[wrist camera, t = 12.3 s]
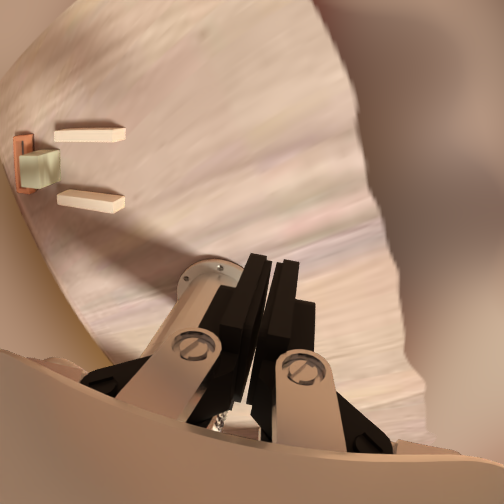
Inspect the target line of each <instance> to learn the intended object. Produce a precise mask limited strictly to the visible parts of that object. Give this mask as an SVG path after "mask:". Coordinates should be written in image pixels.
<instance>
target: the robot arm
mask: <svg viewBox="0 0 504 504" xmlns="http://www.w3.org/2000/svg"><path fill="white" fill-rule="evenodd" d="M222 266H223V267H222ZM271 266H272V261H268V260H267V256H264V255H259V254H253V253H251V254H250V256H249V258H248V261H247V263H246V265H245V268H244V269H243V268H241V267H240V266H238V265H236V264H234V263H231V262H229V261H225V260H221V259H207V260H202V261H199V262H196V263H195V264H193V265H191V266H190V267H189V268H188V269H187V270H186V271H185V272H184V273H183V274H182V276H181V278H180V280H179V282H178V286H177V298H178V301H177V303H176V304H175V306H174V307H173V309H172V310H171V312H170V313H169V315H168V316H167V317H166V319H165V320H164V322H163V323H162V325H161V326H160V328H159V329H158V331H157V332H156V334H155V335H154V337H153V338H152V340H151V341H150V343H149V345H148V346H147V348H146V349H145V351H144V352H143V354H142V355H141V357H140V358H139V359H135V360H132V361H128V362H124V363H121V364H117V365H113V366H109V367H105V368H101V369H97V370H95V371H92V372H90V373H88V372H86V371H85V370H83V369H82V368H80V367H79V366H77V365H76V364H74V363H72V362H71V361H68V360H66V359H63V358H60V357H50V358H47V359H44V360H40V359H35V358H28V357H27V358H25V357H23V356H20V355H17V354H15V353H13V352H10V351H7V350H4V349H0V504H504V465H503V464H500V463H497V462H494V461H491V460H488V459H484V458H479V457H472V456H465V455H461V454H460V453H459V452H456V451H454V450H450V449H443V448H438V447H433V446H428V445H422V444H418V443H413V442H408V441H404V440H399V439H398V440H397V442H392V441H390V439H389V438H388V437H387V436H386V435H385V433H384V432H382V431H381V430H380V429H379V428H378V427H377V426H375V425H374V424H373V423H372V422H371V421H370V420H368V419H367V418H366V417H365V416H364V415H363V414H362V413H360V412H359V411H358V410H357V409H356V408H355V407H354V406H352V405H351V404H350V403H349V402H348V401H347V400H346V399H345V398H343V397H342V396H341V395H340V394H339V393H338V392H337V391H336V389H335V384H334V379H333V374H332V370H331V367H330V365H329V363H328V362H327V361H326V360H325V358H323V357H322V356H320V355H319V354H317V353H315V352H314V336H315V303H314V302H308V301H303V300H297V299H295V297H296V288H297V280H298V271H299V262H296V261H291V260H286V259H284V261H283V263H279V262H277V264H276V268H275V272H274V276H273V280H272V284H271V287H270V291H269V295H268V299H267V303H266V307H265V302H266V296H267V290H268V284H269V278H270V272H271ZM264 308H265V311H264ZM255 349H256V351H255ZM254 353H255V356H254ZM253 356H254V362H253V368H252V374H251V379H250V385H249V390H248V396H247V401H246V404H249V405H252V410H251V414H250V415H251V416H252V417H253V419H254V420H255V421H256V422H257V423H258V425H259V426H260V427H259V432H258V440H254V439H249V438H244V437H239V436H235V435H230V434H226V433H222V432H218V431H214V430H213V426H214V423H215V421H216V418H217V415H218V414H221V413H223V412H225V411H228V410H231V411H232V407H233V404H234V401H235V402H240V403H241V400H242V396H243V393H244V389H245V386H246V382H247V378H248V375H249V371H250V367H251V364H252V360H253Z"/></svg>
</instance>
